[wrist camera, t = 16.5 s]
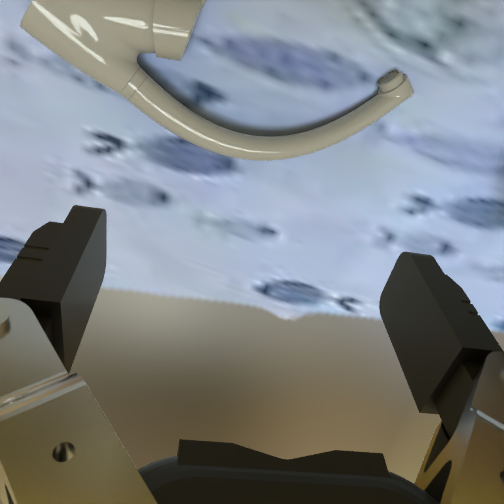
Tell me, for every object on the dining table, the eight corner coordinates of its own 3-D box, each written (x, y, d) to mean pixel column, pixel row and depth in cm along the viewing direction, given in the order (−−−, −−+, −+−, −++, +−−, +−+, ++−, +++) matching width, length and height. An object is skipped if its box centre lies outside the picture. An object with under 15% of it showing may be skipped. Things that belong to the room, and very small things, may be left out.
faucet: (271, -322, 29) (477, 14, 41) (31, 25, 37) (264, 220, 49) (286, -373, 25) (510, 17, 37) (12, 30, 33) (271, 242, 45)
